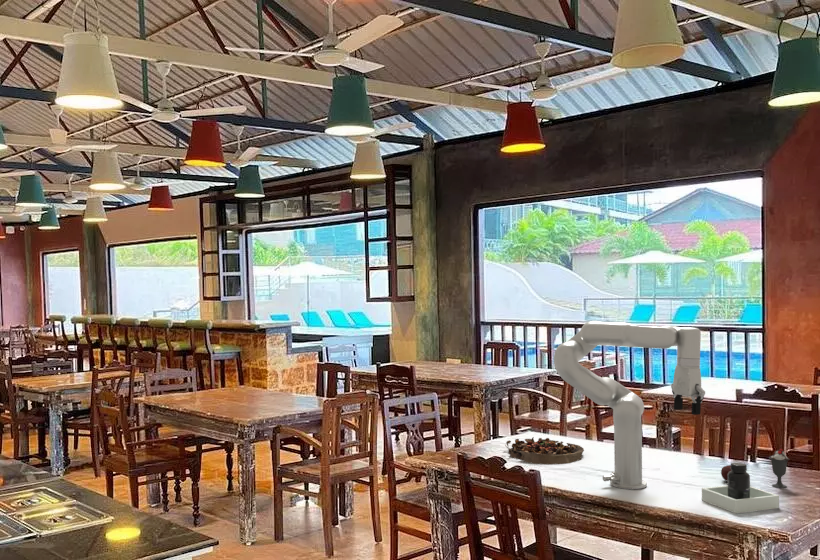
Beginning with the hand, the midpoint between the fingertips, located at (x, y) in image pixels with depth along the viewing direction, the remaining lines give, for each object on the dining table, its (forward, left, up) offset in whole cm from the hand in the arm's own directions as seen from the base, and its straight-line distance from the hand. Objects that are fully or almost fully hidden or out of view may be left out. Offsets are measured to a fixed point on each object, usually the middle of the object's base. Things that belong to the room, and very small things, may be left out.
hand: (686, 411), depth 275 cm
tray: (+5, -20, -27) cm, 34 cm away
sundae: (+34, -7, -28) cm, 44 cm away
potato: (+23, +3, -28) cm, 36 cm away
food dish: (-19, +68, -28) cm, 76 cm away
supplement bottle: (+5, -19, -27) cm, 33 cm away
